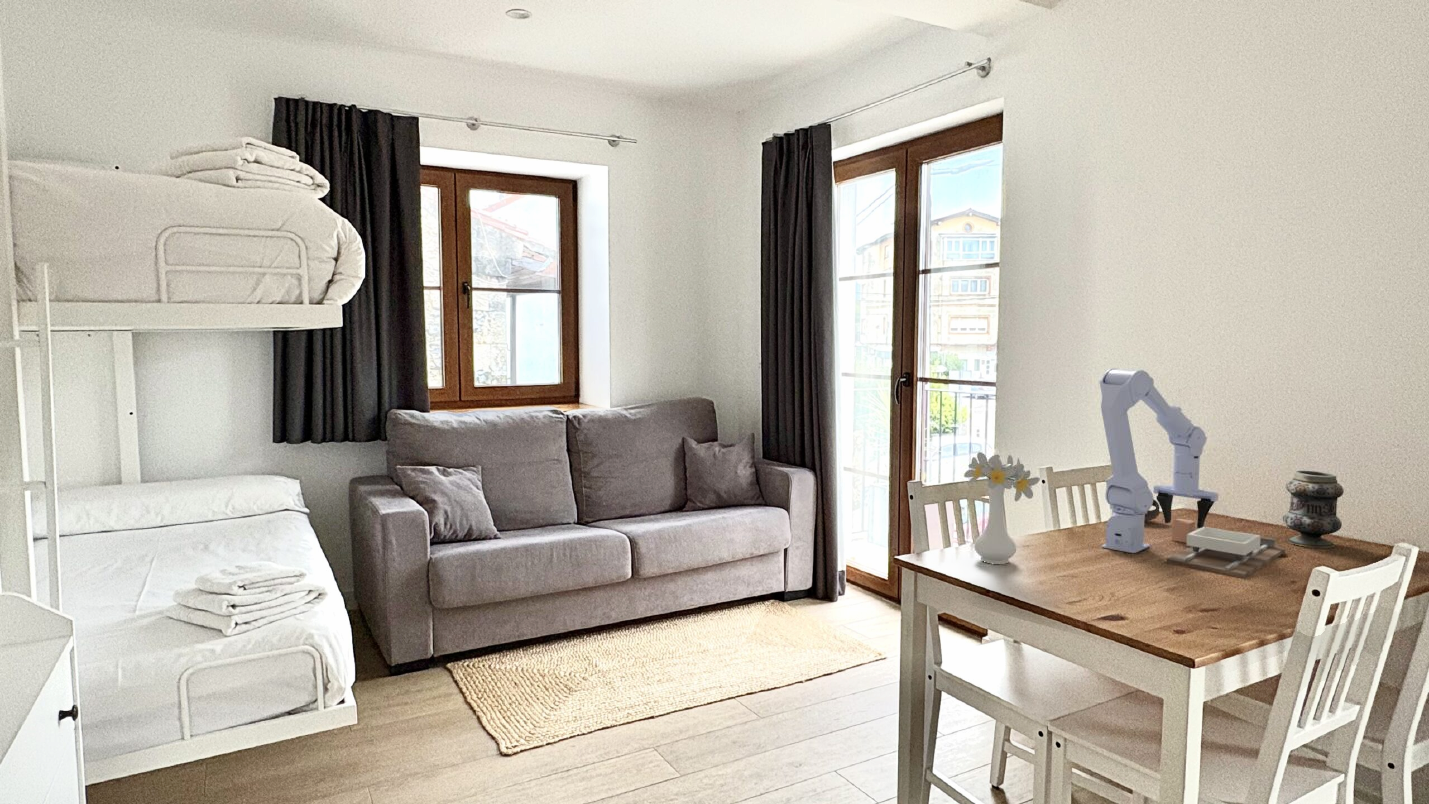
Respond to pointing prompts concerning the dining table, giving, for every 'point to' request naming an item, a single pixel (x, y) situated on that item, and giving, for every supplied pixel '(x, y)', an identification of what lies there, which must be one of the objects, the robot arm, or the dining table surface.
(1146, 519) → the pottery mug
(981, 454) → the flower vase
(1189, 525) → the terracotta block
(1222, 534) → the white square tray
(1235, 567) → the track board
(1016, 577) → the dining table surface
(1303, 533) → the apothecary jar
